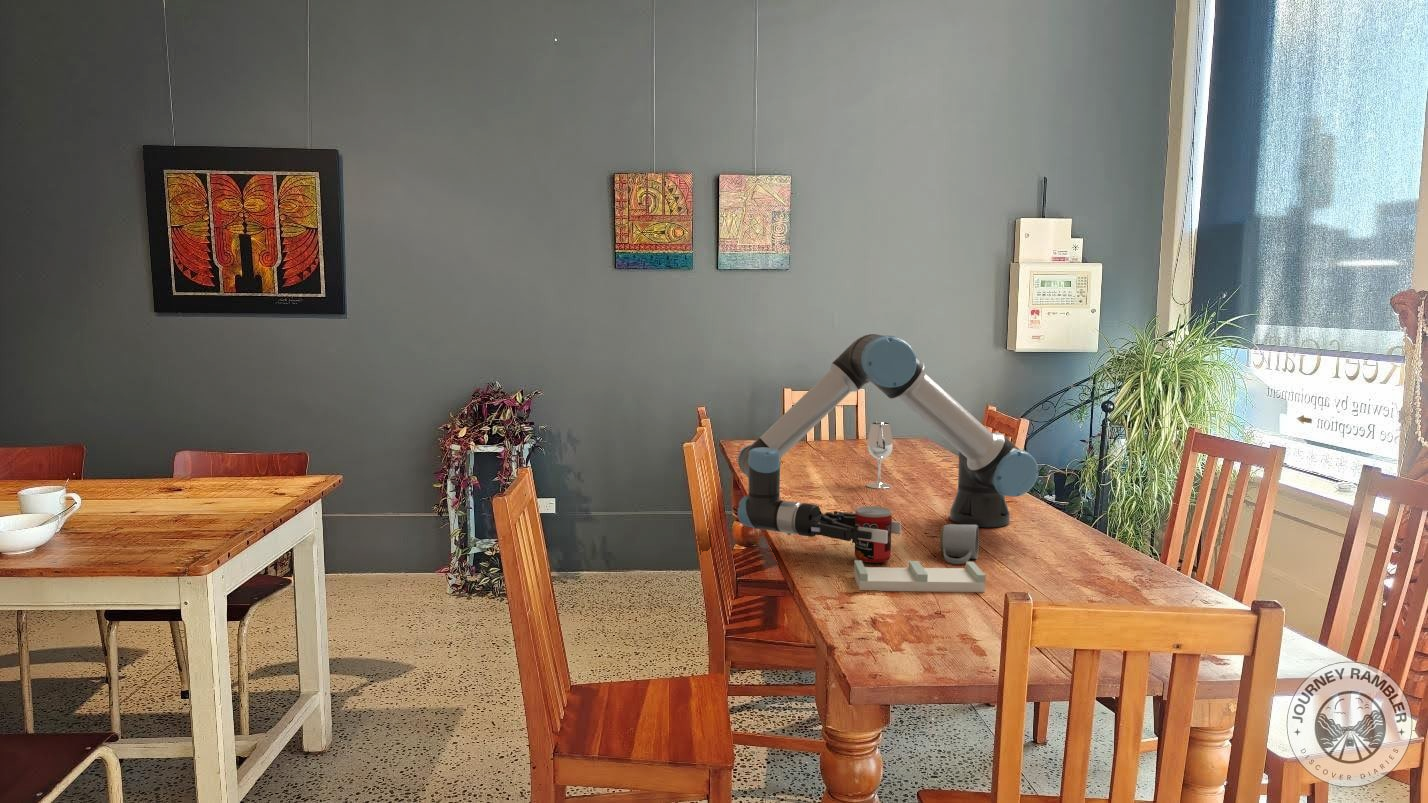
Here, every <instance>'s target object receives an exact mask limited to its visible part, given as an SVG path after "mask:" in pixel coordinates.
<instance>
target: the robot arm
mask: <svg viewBox="0 0 1428 803" xmlns="http://www.w3.org/2000/svg"><path fill="white" fill-rule="evenodd" d="M869 383H872V384H873V385H874V386H875V387H876V388H877V389H879V390H880V391H881V392H882V393H883V394H884V395H885V396H887V397H888V399H890V400H897V399H898V400H900V401H902V402H903V403H904V404H905V405H906V406H907V407H909V408H910V409H911V410H912V411H913V412H914V413H915V414H916V415H917V416H919V417H920V418H921V419H922V420H923V421H924V422H925V423H926V424H928V425H929V426H930V427H931V428H932V429H934V430H935V431H936V432H937V433H938V434H939V435H940V436H941V437H942V438H944V439H945V440H946V441H947V442H948V443H949V444H950V445H952V447H954V448H955V449H956V451H958V478H957V482H958V483H957V492H956V495H955V497H954V500H953V502H952V505H951V508H950V511H949V512H950V514H949V516H950V517H949V519H950V520H951V521H953V523H957V524H958V525H977V526H978V528H999V527H1005V526H1008V525H1009V524H1010V517H1011V513H1010V511H1009V508H1008V504H1007V501H1006V497H1009V498H1010V497H1012V498H1017V497H1020V496H1023V495H1025V494H1027V493H1028V492H1030V490H1031V489H1032V488H1033V487H1034V486H1035V484H1036V482H1037V480H1038V479H1037V478H1038V476H1039V474H1038V471H1039V466H1038V463H1037V461H1036V459H1035V457H1034V456H1033V455H1031V454H1030V452H1028V451H1026V450H1024V449H1020V448H1018V447H1017V446H1016V445H1015V444H1014V443H1013V442H1012V441H1011V440H1010V439H1009V438H1007V437H1006V436H1005V435H1004V434H1003V433H1001V432H991V431H990V430H989V429H988V428H987V427H986V426H985V425H983V424H982V423H981V422H980V421H979V420H978V419H977V418H976V417H974V416H973V415H972V414H971V413H970V412H969V411H968V410H967V409H966V408H965V407H963V406H962V405H961V404H960V403H959V402H958V401H957V400H956V399H955V398H953V397H952V396H951V395H950V394H949V393H948V392H947V391H945V389H943V387H941V386H940V385H939V384H938V383H937V382H936V381H935V380H933V379H932V377H931V376H929V375H928V374H927V373H926V372H925V363H924V362H923V361H922V360H921V359H919V357H917V355H916V353H915V351H914V349H913V348H912V346H911V345H910V344H909V343H908V342H907V341H905V340H904V339H901V338H900V337H898V336H894V335H890V334H889V335H881V334H876V333H872V334H871V333H870V334H865V335H863V336H861V337H858V338H857V339H856V340H855V341H853V342H852V343H851V344H850V345H849V346H848V347H847V348H846V349H845V350H844V351H843V352H842V353H841V354H839V356H838V357H836V359H834V360H833V361H832V362H831V364H830V369H829V371H828V372H827V373H826V374H824V376H823V377H822V378H820V379H819V381H817V382H816V383H815V384H814V385H813V386H812V387H810V389H809V390H808V391H807V392H806V393H804V395H803V396H801V398H800V399H798V400H797V402H795V403H794V404H793V405H792V406H791V407H790V408H789V409H788V410H787V411H786V412H785V413H784V414H783V415H782V416H781V417H779V419H777V421H775V422H774V424H772V425H771V426H770V427H769V428H768V429H767V430H766V431H765V432H764V433H762V435H760V437H759V438H758V439H757V440H755V441H754V442H753V443H752V444H749V445H746V446H744V447H743V448H742V449H741V450H740V451H739V452H738V456H737V463H738V466H739V468H740V470H741V472H742V473H743V474H744V475H745V476H746V478H748V479H747V480H748V495H745V496H743V497H742V498H741V499H740V501H739V503H738V508H737V519H738V520H739V522H740V523H741V525H743V526H745V527H749V528H752V529H753V528H754V529H756V530H765V531H772V532H778V533H786V534H787V536H792V535H799V536H802V537H803V536H804V537H809V538H813V537H814V538H815V537H816V536H822V537H827V538H831V539H836V540H841V541H846V542H850V541H851V542H852V543H853V544H855V543H857V538H858V539H859V540H866V541H872V542H878V543H885V544H887V543H888V531H886V530H879V529H873V528H865V527H858V530H857V528H856V527H855V513H852V512H843V511H838V510H835V511H833V512H825V513H823V512H822V511H821V508H820V507H819V506H818V504H813V503H803V502H800V501H791V500H784V499H783V500H782V499H780V498H781V497H780V493H781V492H780V491H781V490H780V484H781V458H783V457H784V456H785V455H786V454H787V453H788V452H789V451H790V450H791V449H792V448H793V447H794V446H795V445H796V444H798V443H799V441H801V440H802V439H803V438H804V437H805V436H806V435H807V434H808V433H810V431H811V430H812V429H813V428H815V426H817V424H819V423H820V422H821V421H822V420H823V418H825V417H826V416H827V415H828V414H829V413H830V412H831V411H832V410H834V409H835V408H836V406H837V405H839V404H840V403H841V401H843V400H844V399H845V398H846V397H847V396H848V395H849V394H851V392H855V393H856V392H858V391H859V390H860V389H862V388H863V387H864V386H865V385H867V384H869ZM891 534H894V535H901V534H902V522H901V521H896V520H892V523H891Z"/></svg>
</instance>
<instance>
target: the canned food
mask: <svg viewBox="0 0 1428 803" xmlns="http://www.w3.org/2000/svg"><path fill="white" fill-rule="evenodd" d="M854 514H855V527H856V528H857V530H858V527H865V528H873V529H879V530H886V531H888V543H887V544H885V543H878V542H872V541H866V540H859V539H858V538H857V543H854V556H855V559H856V560H862V563H863V562H865V563H874V564H876V563H877V564H878V563H886V562H888V561H889V560H890V558H891V554H892V553H891V552H892V551H891V549H892V548H891V547H892V533H891V523H892V521H893V520H892V518H893V517H892V516H893V514H892V510H891V509H890V508H887V507H883V506H877V505H876V506H875V505H874V506H873V505H871V506H870V505H869V506H865V505H864V506H861V507H857V508H856V509H855V513H854Z"/></svg>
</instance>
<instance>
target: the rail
mask: <svg viewBox="0 0 1428 803" xmlns="http://www.w3.org/2000/svg"><path fill="white" fill-rule="evenodd" d="M853 563H854V564H853V578H854V577H855V578H854V580H855V582H856V585H857V587H858V589H860V590H879V591H878V592H933V593H934V592H936V593H937V592H938V593H939V592H940V593H942V592H943V593H944V592H946V593H948V592H949V593H950V592H951V593H959V592H960V593H985V592H986V574H985V573H984V571H982V570H981V568H980V567H979V566H978V565H977V564H976V563H975V562H974V561H967V562H966V563H965V568H962V567H961V568H960V567H956V568H955V567H953V568H951V567H950V568H949V567H945V568H944V567H923V565H921V563H920V561H919V560H908V567H884V566H883V567H876V566H875V567H873V566H872V567H870V566H869V567H868V566H866V567H865V564H864V563H863V561H862V560H858V559H854V561H853ZM860 590H859V591H860Z"/></svg>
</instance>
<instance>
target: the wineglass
mask: <svg viewBox="0 0 1428 803" xmlns="http://www.w3.org/2000/svg"><path fill="white" fill-rule="evenodd" d="M893 442H894V441H893V435H892V429H891V423H889V422H884V421H883V422H882V421H874V422H871V425H870V428H869V434H868V439H867V445H866V446H867V450H868V453H869V454H870V455H871V456H872V457H873V458H874V459H877V463H878V465H877V466H878V471H877V472H878V473H877V481H876V482H870V483H867V484H866V487H868V488H871V489H879V490H884V489H890V488H892V485H891V484H889V483H886V482H883V481H882V479H881V473H882V472H881V471H882V470H881V468H882V461H883V460H884V459H886V458H888V457H889V456H890V455H891V453H892V451H893V448H894V447H893V446H894V445H893V444H894V443H893Z"/></svg>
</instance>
